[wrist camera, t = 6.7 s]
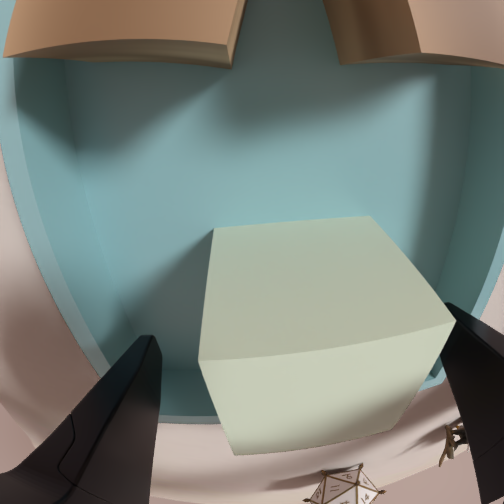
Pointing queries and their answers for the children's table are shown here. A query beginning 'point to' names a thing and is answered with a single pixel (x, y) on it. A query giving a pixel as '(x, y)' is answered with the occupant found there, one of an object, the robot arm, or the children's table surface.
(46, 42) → the walnut block
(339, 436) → the sage block
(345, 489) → the game die
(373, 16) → the walnut block
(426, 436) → the children's table surface
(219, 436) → the children's table surface
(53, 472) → the robot arm
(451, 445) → the eagle figurine
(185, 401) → the tray
